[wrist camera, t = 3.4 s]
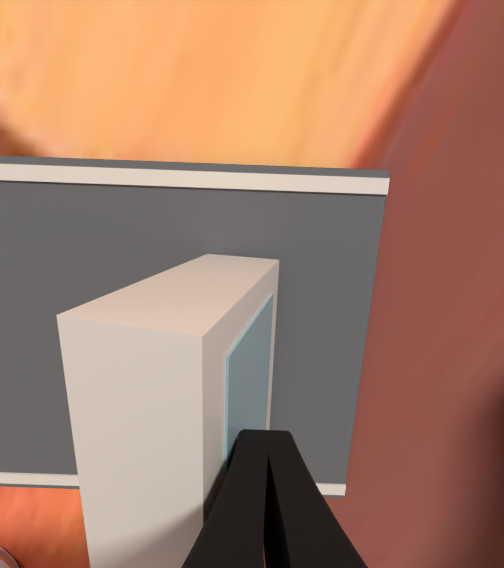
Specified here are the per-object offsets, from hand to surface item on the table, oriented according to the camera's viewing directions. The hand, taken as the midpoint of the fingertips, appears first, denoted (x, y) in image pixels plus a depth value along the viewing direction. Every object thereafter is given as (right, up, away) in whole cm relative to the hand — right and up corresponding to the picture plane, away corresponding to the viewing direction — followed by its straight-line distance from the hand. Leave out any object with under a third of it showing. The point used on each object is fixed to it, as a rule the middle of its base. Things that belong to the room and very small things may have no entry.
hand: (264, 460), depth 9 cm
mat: (-5, +2, +6) cm, 8 cm away
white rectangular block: (-1, +1, +5) cm, 6 cm away
